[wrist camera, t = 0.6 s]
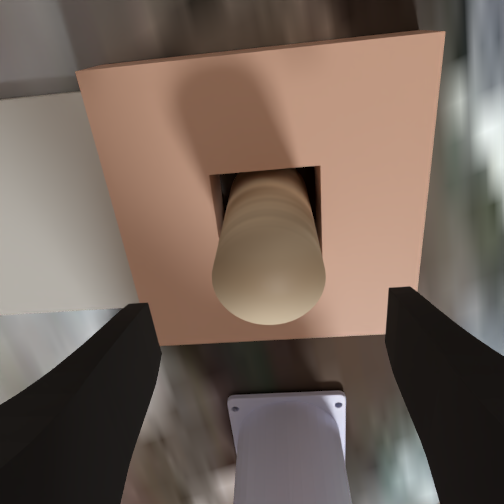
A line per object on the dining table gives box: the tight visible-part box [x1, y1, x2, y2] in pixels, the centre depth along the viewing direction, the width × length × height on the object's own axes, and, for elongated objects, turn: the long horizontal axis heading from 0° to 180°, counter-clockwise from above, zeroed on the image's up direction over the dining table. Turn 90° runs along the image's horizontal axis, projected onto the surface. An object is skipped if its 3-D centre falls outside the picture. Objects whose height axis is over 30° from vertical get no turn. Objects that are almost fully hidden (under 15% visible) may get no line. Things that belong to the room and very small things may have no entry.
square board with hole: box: [75, 30, 445, 346], centre depth 20 cm, size 14×14×3 cm
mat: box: [0, 91, 140, 315], centre depth 22 cm, size 12×12×1 cm
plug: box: [212, 168, 326, 325], centre depth 18 cm, size 4×4×8 cm
